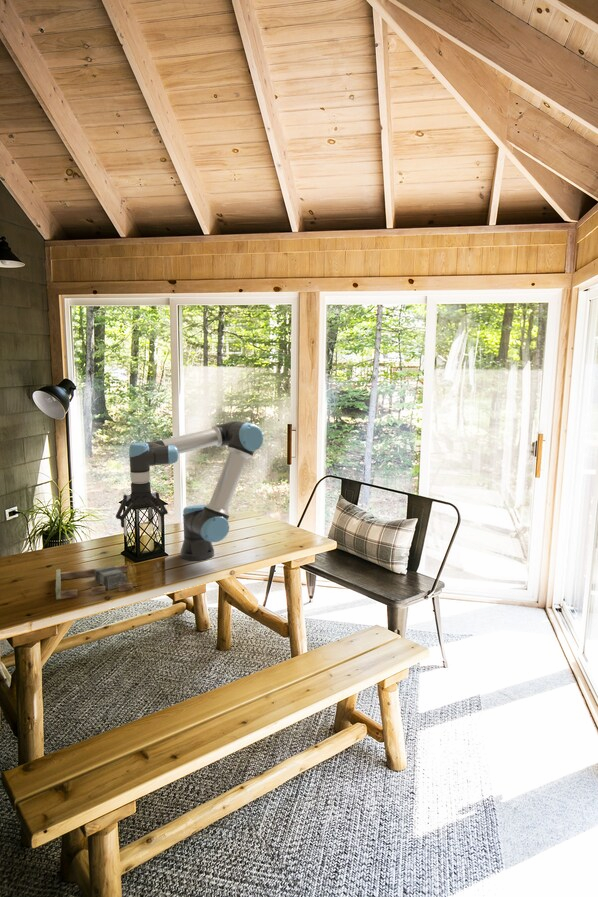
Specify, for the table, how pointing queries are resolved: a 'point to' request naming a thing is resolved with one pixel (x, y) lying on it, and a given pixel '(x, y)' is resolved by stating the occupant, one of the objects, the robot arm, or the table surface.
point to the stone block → (110, 577)
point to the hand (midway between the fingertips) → (143, 533)
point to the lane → (84, 573)
